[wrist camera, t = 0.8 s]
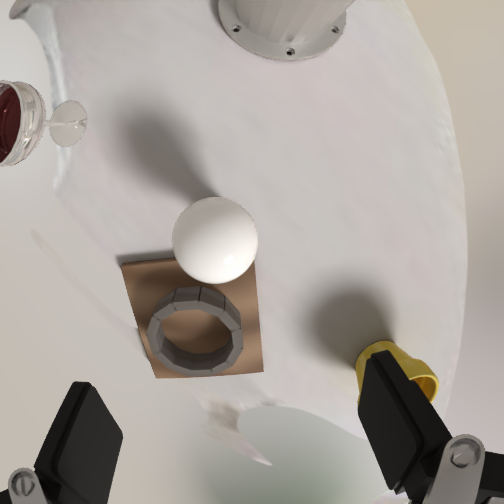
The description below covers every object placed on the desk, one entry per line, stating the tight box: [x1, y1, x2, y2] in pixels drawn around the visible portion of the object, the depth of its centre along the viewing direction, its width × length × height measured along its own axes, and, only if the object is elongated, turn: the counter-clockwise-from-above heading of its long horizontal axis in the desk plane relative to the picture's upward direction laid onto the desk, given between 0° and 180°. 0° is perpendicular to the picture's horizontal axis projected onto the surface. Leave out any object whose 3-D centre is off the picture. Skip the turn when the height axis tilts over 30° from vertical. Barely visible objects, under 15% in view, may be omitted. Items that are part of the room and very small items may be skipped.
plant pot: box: [355, 341, 439, 405], centre depth 33 cm, size 10×10×10 cm
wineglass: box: [0, 80, 87, 167], centre depth 19 cm, size 7×7×12 cm
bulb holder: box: [121, 258, 264, 378], centre depth 32 cm, size 16×14×4 cm
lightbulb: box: [172, 197, 258, 284], centre depth 24 cm, size 6×6×11 cm
